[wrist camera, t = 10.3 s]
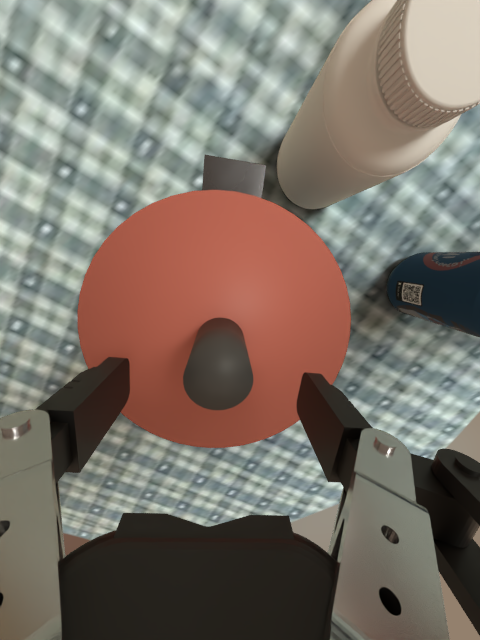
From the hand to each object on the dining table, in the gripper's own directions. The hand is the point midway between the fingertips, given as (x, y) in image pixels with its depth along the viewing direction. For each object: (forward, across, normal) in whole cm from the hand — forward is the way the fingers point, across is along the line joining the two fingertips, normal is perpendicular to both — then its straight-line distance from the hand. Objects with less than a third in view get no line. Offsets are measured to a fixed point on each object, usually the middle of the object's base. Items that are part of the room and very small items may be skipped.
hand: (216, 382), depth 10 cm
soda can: (+16, -22, -5) cm, 28 cm away
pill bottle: (+16, -8, -15) cm, 24 cm away
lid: (+7, 0, 0) cm, 7 cm away
